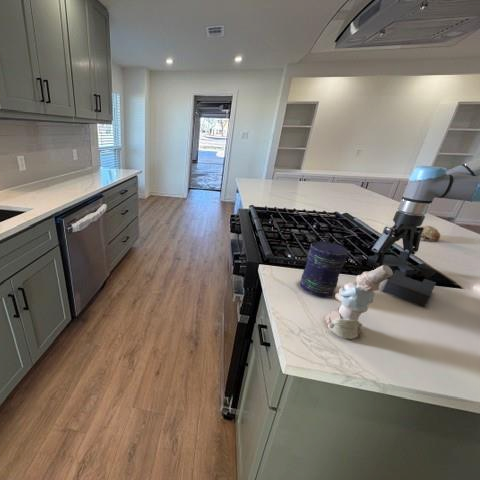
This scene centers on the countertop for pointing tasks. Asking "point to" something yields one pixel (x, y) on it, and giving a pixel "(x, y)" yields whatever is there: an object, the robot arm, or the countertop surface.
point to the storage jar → (323, 268)
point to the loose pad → (394, 264)
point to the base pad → (409, 288)
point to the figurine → (356, 302)
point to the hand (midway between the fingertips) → (386, 268)
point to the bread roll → (430, 234)
